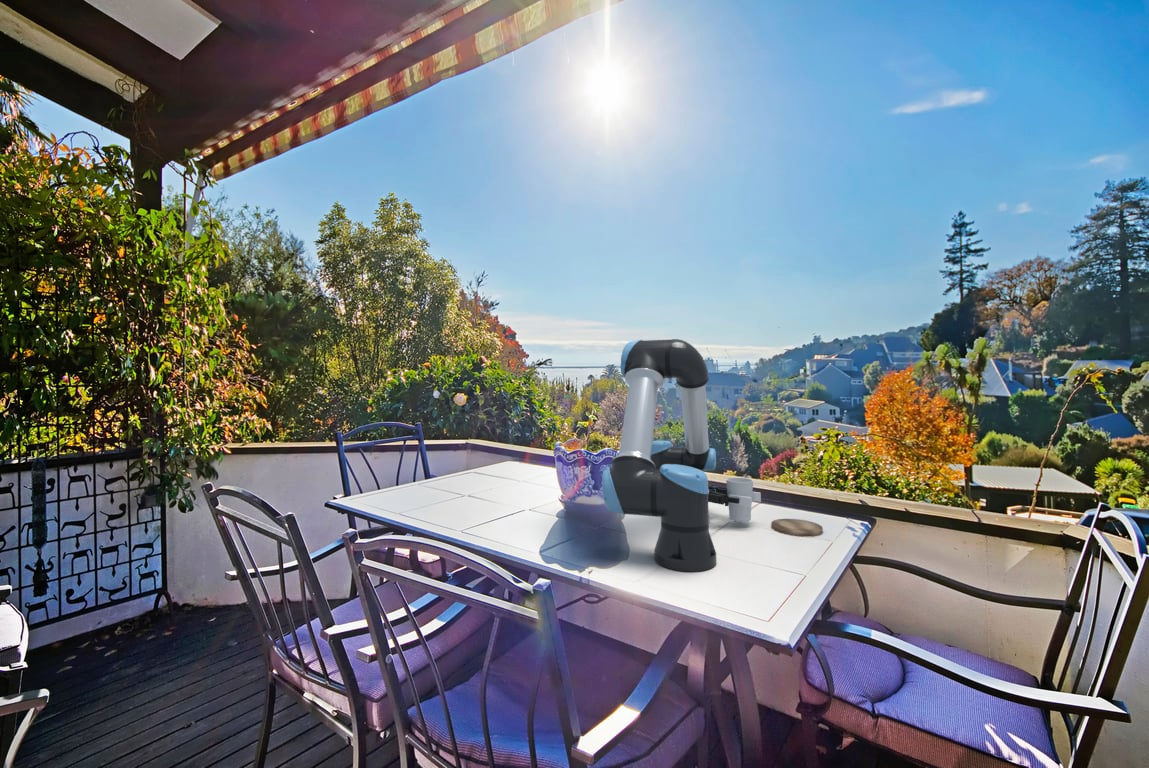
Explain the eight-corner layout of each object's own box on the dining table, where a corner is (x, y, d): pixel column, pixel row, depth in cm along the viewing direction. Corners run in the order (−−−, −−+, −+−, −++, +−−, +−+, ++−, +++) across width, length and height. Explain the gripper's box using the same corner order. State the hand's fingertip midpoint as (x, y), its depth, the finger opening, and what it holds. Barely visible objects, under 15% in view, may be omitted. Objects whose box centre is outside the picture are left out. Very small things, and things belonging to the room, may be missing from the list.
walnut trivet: (792, 538, 137) (792, 533, 137) (761, 524, 151) (761, 520, 151) (833, 534, 141) (833, 529, 141) (800, 520, 154) (800, 516, 154)
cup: (748, 523, 145) (748, 483, 145) (722, 519, 149) (722, 480, 150) (757, 517, 151) (756, 479, 151) (731, 513, 156) (731, 476, 156)
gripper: (699, 495, 169) (766, 505, 155) (671, 507, 154) (743, 519, 139) (699, 474, 170) (766, 482, 155) (671, 483, 154) (743, 492, 139)
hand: (755, 499), depth 147 cm, fingers closed on cup, 7 cm apart
